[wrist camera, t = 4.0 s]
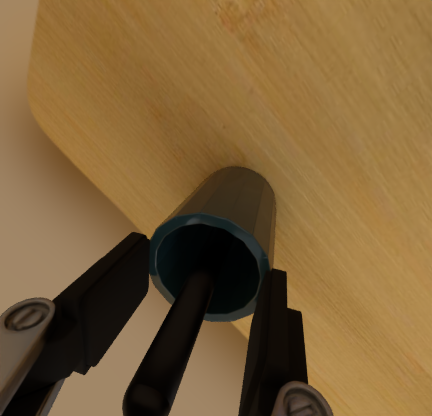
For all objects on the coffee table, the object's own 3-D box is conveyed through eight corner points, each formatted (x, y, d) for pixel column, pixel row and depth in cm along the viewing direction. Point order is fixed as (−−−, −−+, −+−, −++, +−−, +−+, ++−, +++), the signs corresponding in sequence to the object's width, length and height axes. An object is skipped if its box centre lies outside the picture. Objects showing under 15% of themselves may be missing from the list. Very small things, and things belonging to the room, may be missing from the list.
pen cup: (195, 229, 20) (144, 302, 13) (203, 159, 17) (147, 199, 10) (266, 246, 19) (256, 336, 12) (284, 175, 16) (287, 232, 9)
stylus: (225, 213, 18) (112, 432, 6) (227, 198, 17) (110, 405, 6) (241, 217, 18) (159, 451, 6) (244, 201, 17) (161, 424, 5)
